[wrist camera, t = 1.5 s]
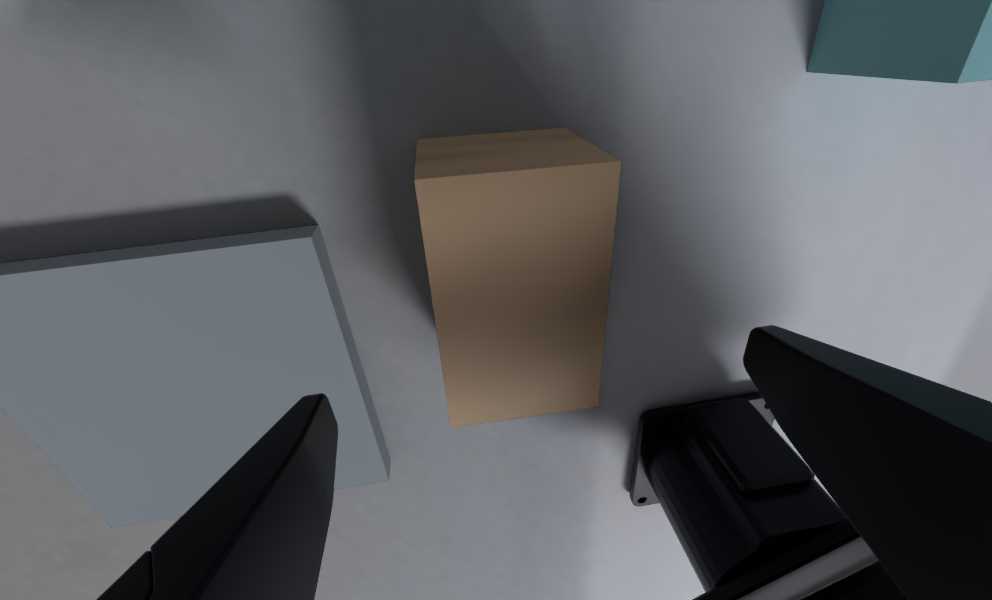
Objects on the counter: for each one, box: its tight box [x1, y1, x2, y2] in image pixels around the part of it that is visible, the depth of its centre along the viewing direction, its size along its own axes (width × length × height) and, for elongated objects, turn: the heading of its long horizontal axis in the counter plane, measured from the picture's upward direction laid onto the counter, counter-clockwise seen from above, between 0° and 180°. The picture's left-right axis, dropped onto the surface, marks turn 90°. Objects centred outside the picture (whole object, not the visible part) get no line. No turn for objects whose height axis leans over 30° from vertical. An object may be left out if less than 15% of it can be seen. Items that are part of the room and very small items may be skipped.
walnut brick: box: [414, 127, 621, 428], centre depth 13 cm, size 7×4×4 cm, turn 3°
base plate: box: [0, 225, 391, 528], centre depth 15 cm, size 11×11×1 cm
